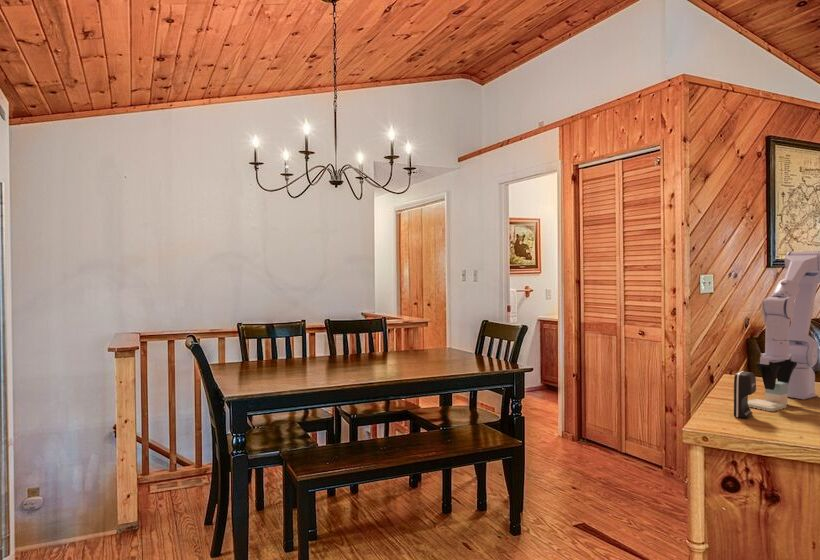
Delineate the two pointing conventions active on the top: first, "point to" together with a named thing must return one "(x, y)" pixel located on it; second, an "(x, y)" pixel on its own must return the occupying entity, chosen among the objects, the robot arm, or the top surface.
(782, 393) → the brick stack
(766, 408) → the plate
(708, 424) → the top surface
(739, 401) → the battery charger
